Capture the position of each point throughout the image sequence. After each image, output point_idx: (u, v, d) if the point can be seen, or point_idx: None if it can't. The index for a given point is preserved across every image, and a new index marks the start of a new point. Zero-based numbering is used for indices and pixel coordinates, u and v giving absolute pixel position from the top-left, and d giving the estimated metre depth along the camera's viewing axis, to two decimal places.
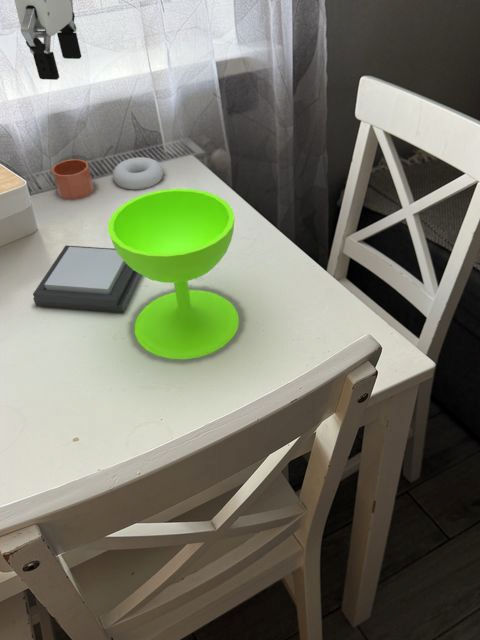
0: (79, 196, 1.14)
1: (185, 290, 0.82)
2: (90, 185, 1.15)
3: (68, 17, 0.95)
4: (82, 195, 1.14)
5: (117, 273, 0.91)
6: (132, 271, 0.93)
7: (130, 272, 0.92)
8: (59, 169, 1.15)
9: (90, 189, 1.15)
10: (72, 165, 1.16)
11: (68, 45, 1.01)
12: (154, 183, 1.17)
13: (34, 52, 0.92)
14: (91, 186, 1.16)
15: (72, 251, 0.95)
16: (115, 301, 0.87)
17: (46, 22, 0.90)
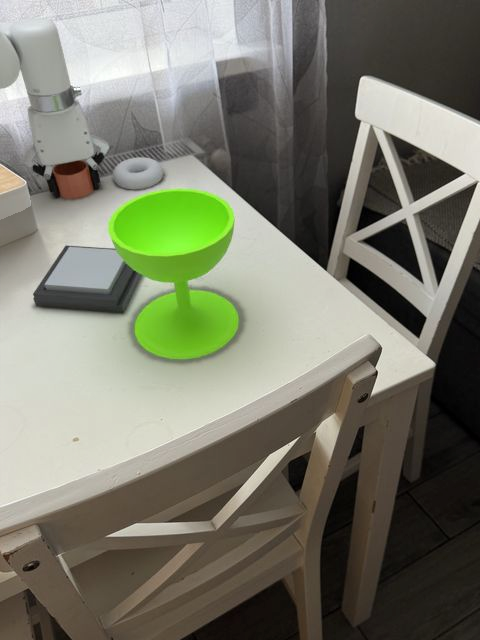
0: (79, 196, 1.14)
1: (185, 290, 0.82)
2: (90, 185, 1.15)
3: (80, 155, 1.11)
4: (82, 195, 1.14)
5: (117, 273, 0.91)
6: (132, 271, 0.93)
7: (130, 272, 0.92)
8: (59, 169, 1.15)
9: (90, 189, 1.15)
10: (72, 165, 1.16)
11: (91, 176, 1.16)
12: (154, 183, 1.17)
13: None
14: (91, 186, 1.16)
15: (72, 251, 0.95)
16: (115, 301, 0.87)
17: (39, 156, 1.08)
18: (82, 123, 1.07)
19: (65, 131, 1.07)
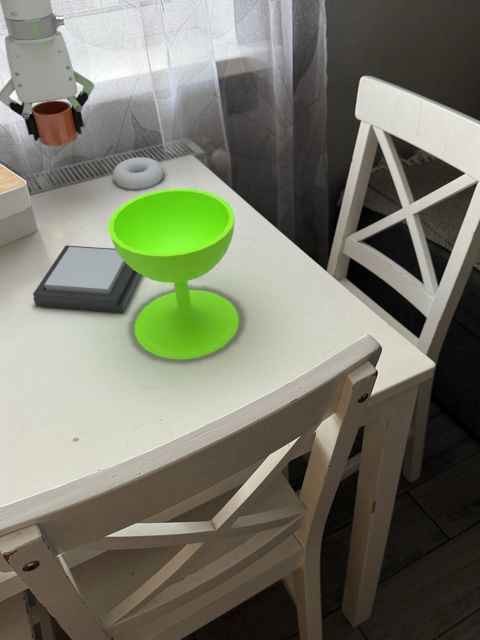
0: (60, 139, 1.06)
1: (185, 290, 0.82)
2: (72, 128, 1.07)
3: (62, 93, 1.02)
4: (63, 138, 1.06)
5: (117, 273, 0.91)
6: (132, 271, 0.93)
7: (130, 272, 0.92)
8: (39, 110, 1.07)
9: (72, 133, 1.07)
10: (53, 107, 1.08)
11: (74, 119, 1.08)
12: (154, 183, 1.17)
13: None
14: (73, 130, 1.07)
15: (72, 251, 0.95)
16: (115, 301, 0.87)
17: (17, 91, 1.00)
18: (64, 56, 0.99)
19: (46, 64, 0.98)
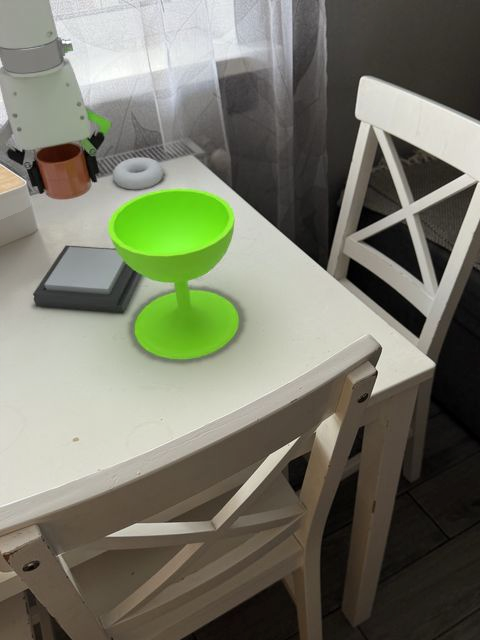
0: (71, 191, 0.85)
1: (185, 290, 0.82)
2: (86, 176, 0.86)
3: (72, 135, 0.81)
4: (75, 190, 0.85)
5: (117, 273, 0.91)
6: (132, 271, 0.93)
7: (130, 272, 0.92)
8: (44, 155, 0.86)
9: (86, 182, 0.86)
10: (61, 150, 0.87)
11: (87, 165, 0.87)
12: (154, 183, 1.17)
13: None
14: (87, 178, 0.86)
15: (72, 251, 0.95)
16: (115, 301, 0.87)
17: (16, 136, 0.79)
18: (74, 91, 0.78)
19: (51, 101, 0.77)
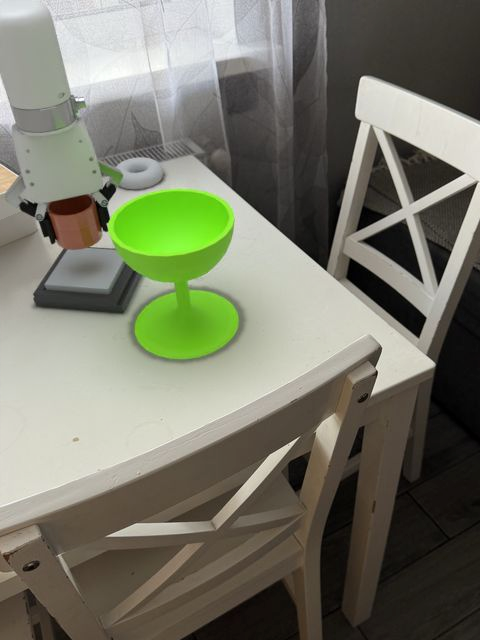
0: (83, 242, 0.85)
1: (185, 290, 0.82)
2: (97, 227, 0.86)
3: (84, 188, 0.82)
4: (86, 241, 0.85)
5: (117, 273, 0.91)
6: (132, 271, 0.93)
7: (130, 272, 0.92)
8: (55, 205, 0.86)
9: (97, 232, 0.86)
10: (73, 200, 0.87)
11: None
12: (154, 183, 1.17)
13: None
14: (99, 228, 0.87)
15: (72, 251, 0.95)
16: (115, 301, 0.87)
17: (28, 191, 0.79)
18: (86, 146, 0.78)
19: (63, 157, 0.77)
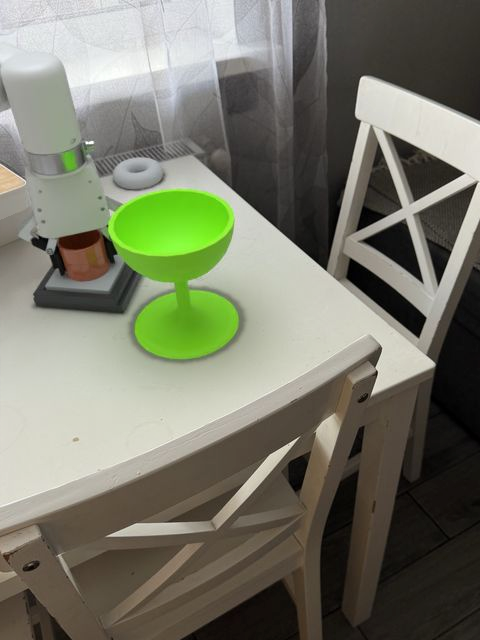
0: (91, 274, 0.89)
1: (185, 290, 0.82)
2: (105, 259, 0.90)
3: (93, 224, 0.86)
4: (94, 273, 0.89)
5: (117, 275, 0.91)
6: (132, 271, 0.93)
7: (130, 272, 0.92)
8: (65, 239, 0.90)
9: (105, 264, 0.90)
10: (82, 233, 0.91)
11: (106, 248, 0.91)
12: (154, 183, 1.17)
13: None
14: (106, 260, 0.91)
15: None
16: (115, 301, 0.87)
17: (40, 227, 0.83)
18: (95, 186, 0.82)
19: (74, 197, 0.81)
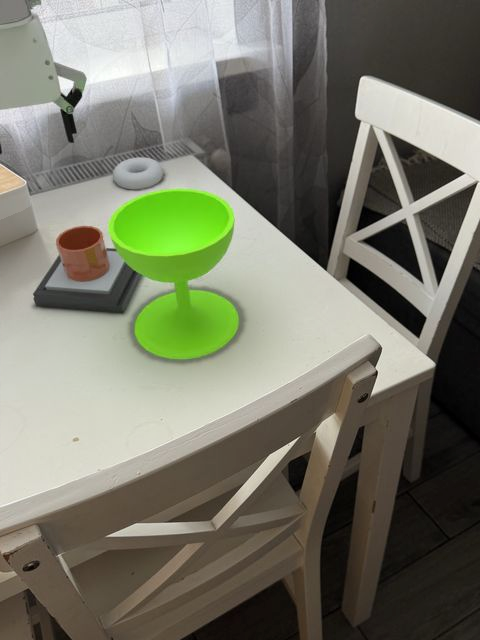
0: (91, 274, 0.89)
1: (185, 290, 0.82)
2: (105, 260, 0.90)
3: (41, 96, 0.77)
4: (94, 273, 0.89)
5: (117, 275, 0.91)
6: (132, 271, 0.93)
7: (130, 272, 0.92)
8: (65, 239, 0.90)
9: (105, 264, 0.90)
10: (82, 233, 0.91)
11: (64, 124, 0.82)
12: (154, 183, 1.17)
13: None
14: (106, 260, 0.91)
15: None
16: (115, 301, 0.87)
17: None
18: (42, 48, 0.73)
19: (17, 58, 0.73)
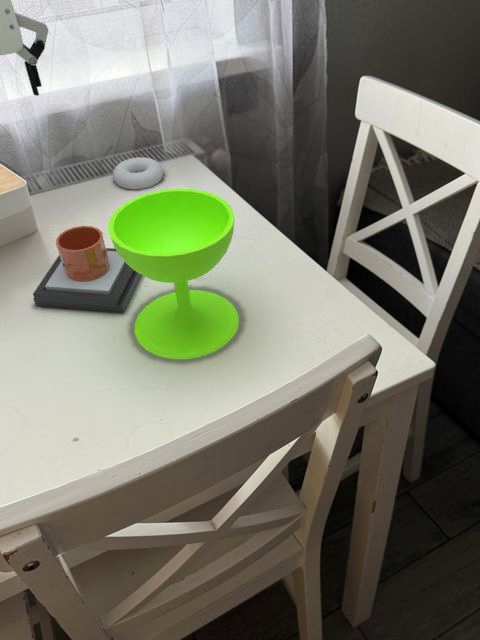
0: (91, 274, 0.89)
1: (185, 290, 0.82)
2: (105, 260, 0.90)
3: (3, 46, 0.79)
4: (94, 273, 0.89)
5: (117, 275, 0.91)
6: (132, 271, 0.93)
7: (130, 272, 0.92)
8: (65, 239, 0.90)
9: (105, 264, 0.90)
10: (82, 233, 0.91)
11: None
12: (154, 183, 1.17)
13: None
14: (106, 260, 0.91)
15: None
16: (115, 301, 0.87)
17: None
18: None
19: None
